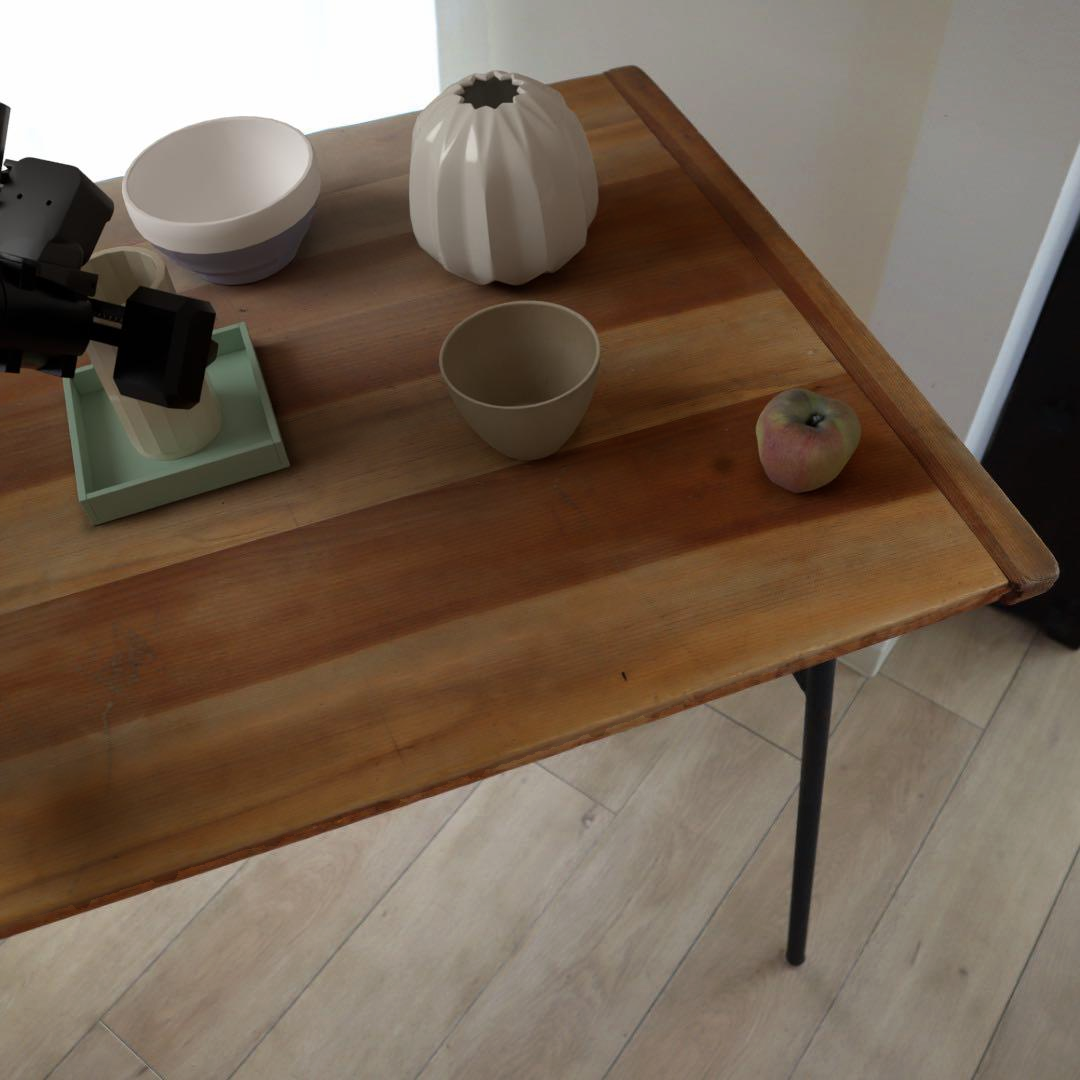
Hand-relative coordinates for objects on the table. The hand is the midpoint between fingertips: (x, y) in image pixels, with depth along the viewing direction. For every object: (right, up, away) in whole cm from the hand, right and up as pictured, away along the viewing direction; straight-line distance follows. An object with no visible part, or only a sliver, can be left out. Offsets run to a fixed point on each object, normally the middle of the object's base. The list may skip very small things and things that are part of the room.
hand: (155, 336), depth 76 cm
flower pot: (+24, -6, +2) cm, 25 cm away
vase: (+22, +9, +15) cm, 28 cm away
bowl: (+1, +9, +17) cm, 20 cm away
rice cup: (0, -5, +4) cm, 7 cm away
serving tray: (0, -6, +5) cm, 7 cm away
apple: (+41, -9, -2) cm, 42 cm away
